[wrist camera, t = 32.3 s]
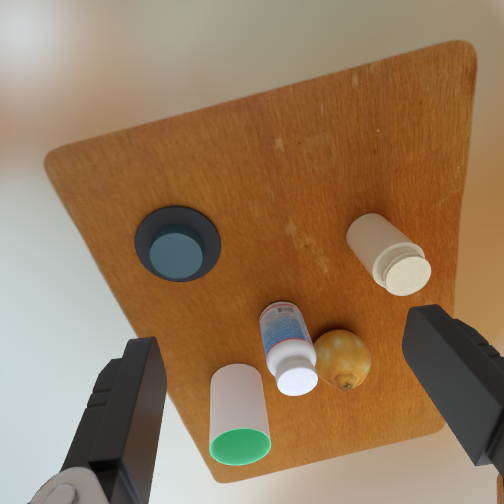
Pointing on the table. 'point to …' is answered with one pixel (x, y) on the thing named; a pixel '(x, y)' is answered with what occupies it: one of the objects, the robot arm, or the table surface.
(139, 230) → the coaster
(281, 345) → the pill bottle
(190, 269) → the lid
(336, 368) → the fruit
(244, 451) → the mug
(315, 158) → the table surface
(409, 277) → the jar
